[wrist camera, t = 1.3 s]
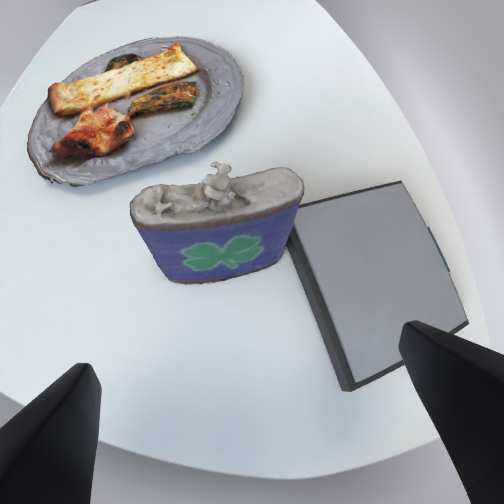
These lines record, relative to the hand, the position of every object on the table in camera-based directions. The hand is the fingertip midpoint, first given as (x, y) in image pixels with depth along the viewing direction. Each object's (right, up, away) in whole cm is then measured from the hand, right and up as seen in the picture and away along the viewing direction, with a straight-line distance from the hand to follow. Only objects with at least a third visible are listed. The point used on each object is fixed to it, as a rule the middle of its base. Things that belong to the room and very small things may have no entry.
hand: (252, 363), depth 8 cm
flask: (-2, +2, +16) cm, 16 cm away
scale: (+10, +1, +15) cm, 18 cm away
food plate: (-14, +19, +22) cm, 32 cm away
